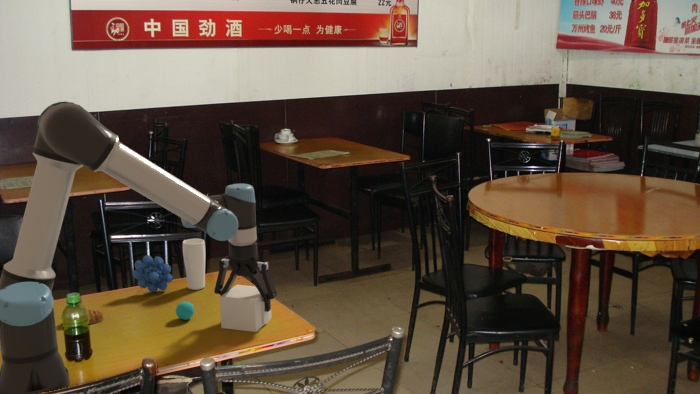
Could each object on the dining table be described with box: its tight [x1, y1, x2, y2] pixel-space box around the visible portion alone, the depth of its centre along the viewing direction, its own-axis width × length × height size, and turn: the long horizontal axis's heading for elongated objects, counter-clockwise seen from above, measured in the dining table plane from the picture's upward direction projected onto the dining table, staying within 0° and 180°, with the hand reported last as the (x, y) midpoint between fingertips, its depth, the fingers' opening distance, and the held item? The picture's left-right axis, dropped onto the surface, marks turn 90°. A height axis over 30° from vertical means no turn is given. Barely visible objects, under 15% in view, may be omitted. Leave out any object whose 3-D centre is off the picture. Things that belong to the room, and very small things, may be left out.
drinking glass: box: [182, 237, 206, 291], centre depth 232 cm, size 7×7×15 cm
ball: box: [175, 301, 195, 321], centre depth 208 cm, size 5×5×5 cm
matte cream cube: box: [219, 284, 273, 333], centre depth 204 cm, size 10×10×9 cm
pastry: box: [85, 309, 104, 326], centre depth 208 cm, size 9×7×4 cm
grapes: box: [132, 254, 174, 293], centre depth 228 cm, size 12×7×12 cm, turn 110°
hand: (246, 320), depth 205 cm, fingers closed on matte cream cube, 10 cm apart
